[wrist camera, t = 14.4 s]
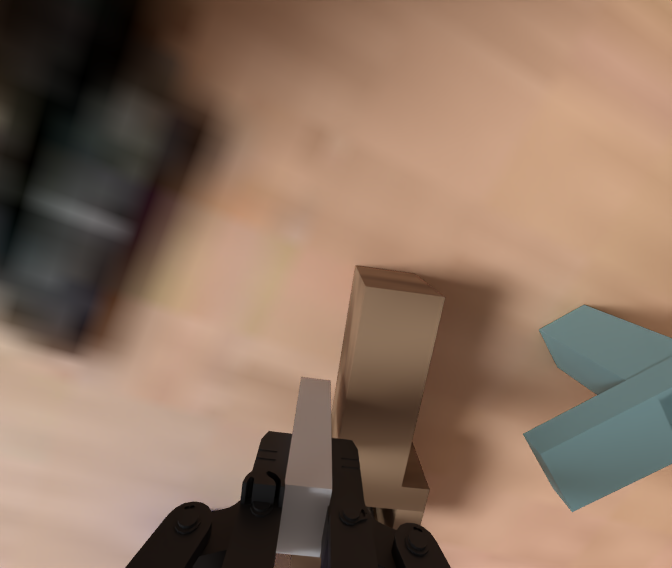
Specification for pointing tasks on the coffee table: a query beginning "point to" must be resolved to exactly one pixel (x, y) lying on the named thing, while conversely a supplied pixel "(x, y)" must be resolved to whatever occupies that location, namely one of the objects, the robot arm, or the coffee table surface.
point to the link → (385, 390)
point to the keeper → (606, 407)
